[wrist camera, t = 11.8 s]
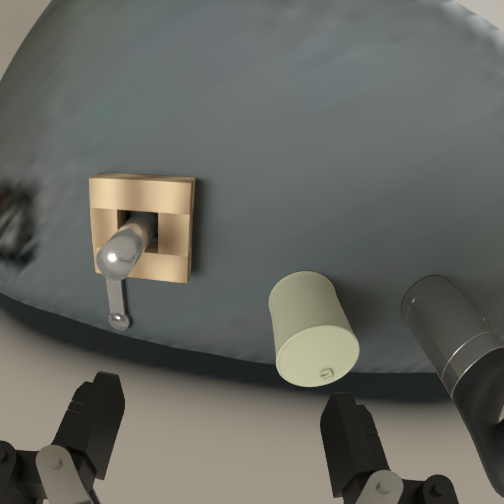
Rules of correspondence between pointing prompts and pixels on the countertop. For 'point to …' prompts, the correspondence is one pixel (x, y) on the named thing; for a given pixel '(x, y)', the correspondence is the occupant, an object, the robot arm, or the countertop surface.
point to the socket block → (150, 200)
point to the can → (310, 330)
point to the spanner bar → (117, 305)
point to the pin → (127, 245)
